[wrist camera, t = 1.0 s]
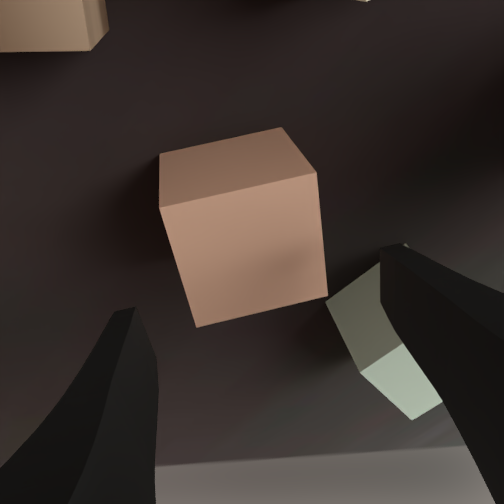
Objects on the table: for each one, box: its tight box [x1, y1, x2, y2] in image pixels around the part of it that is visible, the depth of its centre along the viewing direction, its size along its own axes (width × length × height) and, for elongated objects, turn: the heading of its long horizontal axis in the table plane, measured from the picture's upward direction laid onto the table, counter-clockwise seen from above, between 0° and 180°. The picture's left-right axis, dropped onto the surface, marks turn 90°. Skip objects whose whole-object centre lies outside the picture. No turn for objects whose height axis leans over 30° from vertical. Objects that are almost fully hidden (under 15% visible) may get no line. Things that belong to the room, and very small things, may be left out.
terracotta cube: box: [159, 127, 328, 328], centre depth 17 cm, size 5×5×5 cm
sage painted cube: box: [325, 243, 443, 420], centre depth 22 cm, size 5×5×5 cm
